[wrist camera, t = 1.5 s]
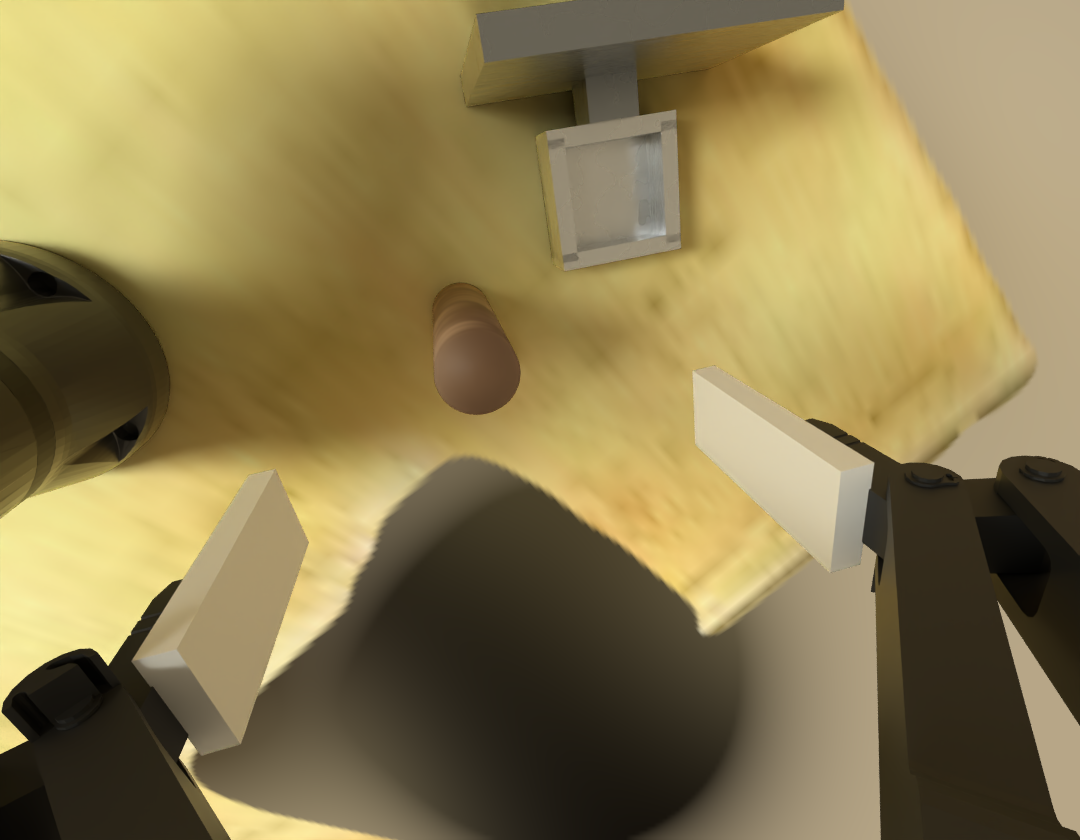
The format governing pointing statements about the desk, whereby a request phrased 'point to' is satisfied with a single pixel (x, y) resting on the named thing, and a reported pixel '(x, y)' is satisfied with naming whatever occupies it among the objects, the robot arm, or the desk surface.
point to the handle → (471, 352)
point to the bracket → (615, 104)
